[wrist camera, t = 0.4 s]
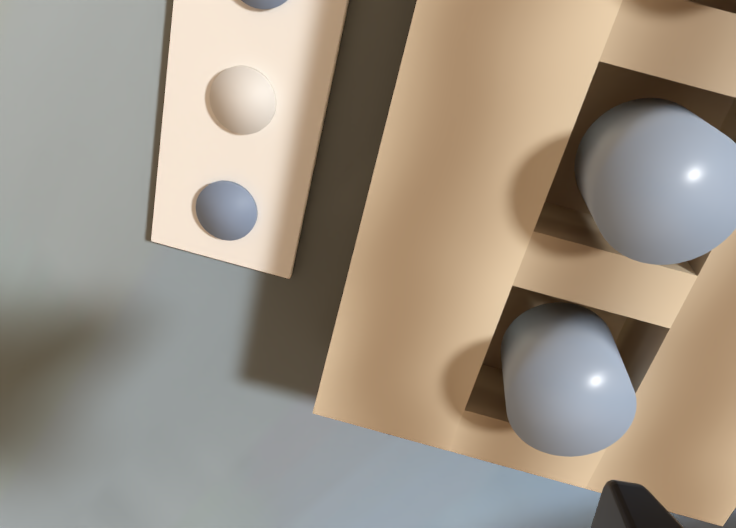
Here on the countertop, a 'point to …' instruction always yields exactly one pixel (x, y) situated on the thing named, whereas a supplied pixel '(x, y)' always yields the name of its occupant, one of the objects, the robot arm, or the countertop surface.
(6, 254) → the countertop surface
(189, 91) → the card
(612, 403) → the button
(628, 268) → the button board
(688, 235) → the button middle
